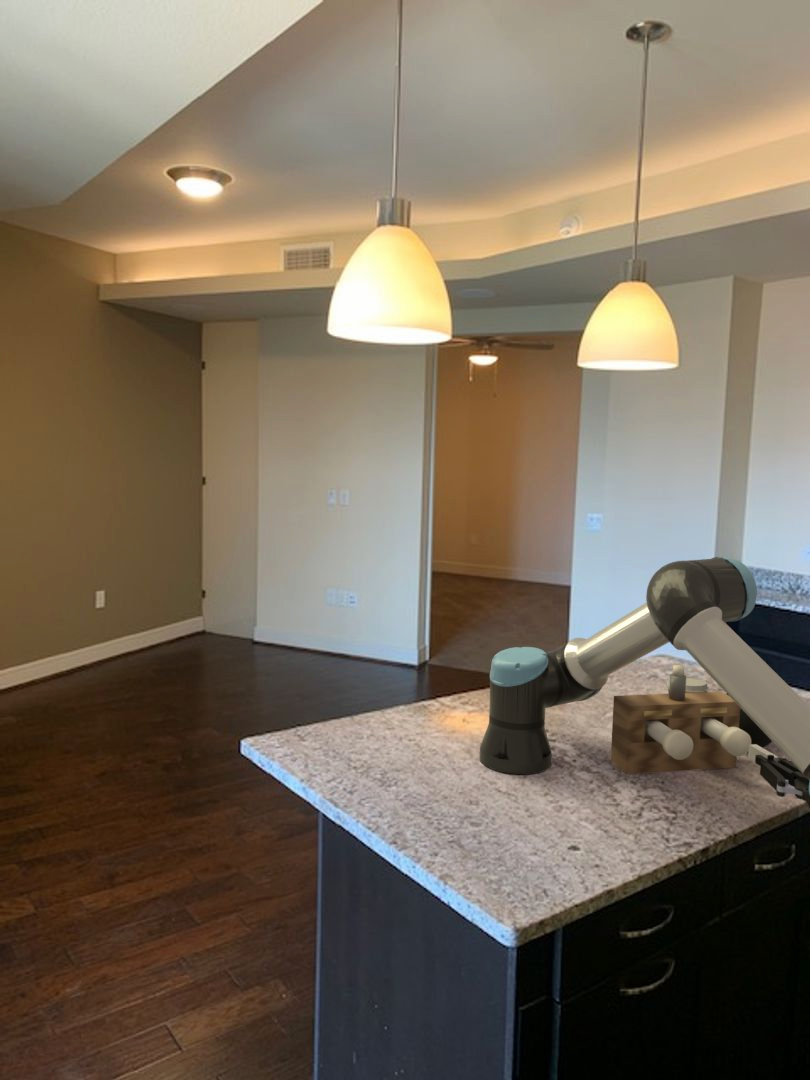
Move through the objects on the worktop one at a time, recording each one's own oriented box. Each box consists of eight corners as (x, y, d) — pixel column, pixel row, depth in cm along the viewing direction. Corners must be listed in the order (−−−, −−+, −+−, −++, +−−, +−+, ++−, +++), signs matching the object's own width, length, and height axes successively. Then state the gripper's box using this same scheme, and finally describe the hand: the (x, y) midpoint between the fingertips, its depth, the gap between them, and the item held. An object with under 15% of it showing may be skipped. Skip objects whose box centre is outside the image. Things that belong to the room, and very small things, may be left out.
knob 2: (726, 757, 152) (728, 731, 152) (684, 730, 167) (685, 706, 167) (750, 755, 153) (752, 730, 153) (706, 728, 168) (707, 705, 168)
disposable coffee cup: (698, 739, 180) (702, 689, 179) (658, 730, 186) (660, 681, 184) (710, 728, 187) (714, 680, 186) (671, 720, 193) (674, 672, 192)
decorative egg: (766, 762, 167) (771, 694, 165) (709, 747, 175) (714, 682, 174) (786, 748, 176) (791, 683, 174) (731, 734, 184) (735, 672, 182)
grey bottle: (673, 701, 161) (675, 668, 161) (665, 696, 164) (667, 664, 164) (687, 700, 162) (689, 667, 161) (679, 696, 165) (681, 663, 164)
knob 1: (667, 760, 150) (669, 734, 149) (630, 732, 165) (631, 708, 164) (692, 759, 151) (694, 733, 150) (652, 731, 166) (654, 707, 165)
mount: (626, 774, 159) (630, 706, 157) (610, 760, 166) (613, 695, 164) (736, 768, 163) (741, 702, 162) (716, 754, 171) (720, 691, 169)
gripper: (806, 830, 125) (719, 772, 148) (876, 825, 127) (781, 768, 150) (809, 785, 124) (722, 733, 147) (880, 780, 126) (783, 730, 149)
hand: (752, 751), depth 148 cm, fingers closed
